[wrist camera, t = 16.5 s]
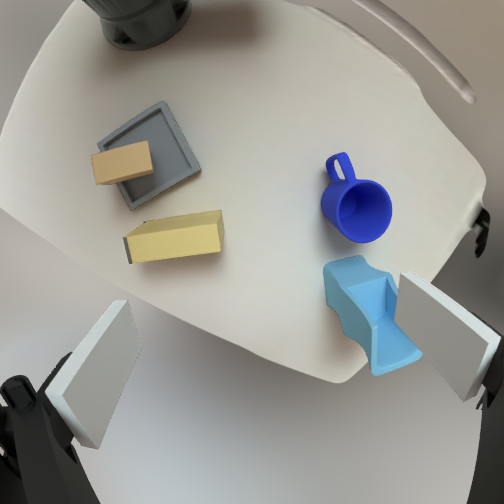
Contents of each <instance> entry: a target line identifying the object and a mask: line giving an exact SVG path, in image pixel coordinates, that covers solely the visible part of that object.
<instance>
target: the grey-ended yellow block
mask: <svg viewBox="0 0 504 504" xmlns="http://www.w3.org/2000/svg"><path fill="white" fill-rule="evenodd" d="M223 237H224V226H223V219H222V212H221V210H217V211H210V212H203V213H196V214H189V215H183V216H176V217H170V218H164V219H158V220H152V221H146V222H144V224H142V225H141V226H139V227H138V228H136V229H135V230H133V231H132V232H131V233H129V234H128V235H126V236H125V237H123V240H124V244H125V248H126V253H127V257H128V261H129V264H132V263H138V262H145V261H153V260H160V259H168V258H176V257H183V256H191V255H199V254H206V253H214V252H221V248H222V243H223Z"/></svg>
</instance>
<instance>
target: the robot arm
mask: <svg viewBox="0 0 504 504" xmlns="http://www.w3.org/2000/svg"><path fill="white" fill-rule="evenodd" d="M82 1H83V2H85V3H86V4H87V5H88V6H89V7H90V8H91V9H92V10H93V11H94V12H96V13H97V14H98V15H99V16H100V21H101V25H102V30H103V33H104V35H105V36H106V38H107V39H108V40H109V41H110V42H111V43H112V44H114V45H115V46H116V47H118V48H121V49H124V50H131V51H135V50H144V49H148V48H151V47H154V46H157V45H159V44H161V43H163V42H165V41H166V40H168V39H169V38H171V37H172V36H173V35H175V34H176V33H177V32H178V31H179V30H180V29H181V28H182V27H183V26H184V24H185V23H186V21H187V19H188V17H189V15H190V11H191V1H190V0H82ZM394 322H395V323H396V324H397V325H398V326H399V327H400V329H401V330H402V331H403V332H404V333H405V334H406V335H407V336H408V337H409V339H410V340H411V341H412V342H413V343H414V344H415V345H416V347H417V348H418V349H419V350H420V351H421V352H422V353H423V355H424V356H425V357H426V358H427V359H428V360H429V361H430V363H431V364H432V365H433V366H434V367H435V369H436V370H437V371H438V372H439V373H440V374H441V376H442V377H443V378H444V379H445V380H446V382H447V383H448V384H449V385H450V386H451V388H452V389H453V390H454V391H455V392H456V394H457V395H458V396H459V398H460V399H461V400H462V401H463V402H464V401H466V400H468V399H470V398H472V397H474V396H476V394H477V392H478V391H479V388H480V386H481V384H483V385H484V386H485V387H486V389H485V391H484V393H483V395H482V397H481V399H480V401H479V403H478V404H477V407H476V409H478V408H479V406H480V405H481V404H482V403H483V405H482V409H481V410H482V421H481V432H480V440H479V448H478V455H477V460H476V466H475V471H474V476H473V481H472V485H471V490H470V493H469V497H468V501H467V504H504V336H503V335H501V334H500V333H499V332H498V331H496V330H495V329H494V328H492V327H491V326H490V325H487V323H486V322H485V321H484V320H481V318H480V317H478V316H477V315H476V314H475V313H473V312H470V311H468V310H466V309H465V308H463V307H462V306H461V305H459V304H458V303H457V302H455V301H454V300H452V299H451V298H450V297H448V296H447V295H446V294H444V293H443V292H441V291H440V290H439V289H437V288H436V287H434V286H433V285H432V284H430V283H429V282H427V281H426V280H424V279H423V278H422V277H420V276H419V275H417V274H416V273H414V272H413V271H410V272H404V273H400V280H399V289H398V296H397V304H396V310H395V317H394ZM141 349H142V346H141V342H140V340H139V336H138V333H137V330H136V326H135V323H134V319H133V316H132V312H131V309H130V305H129V302H128V300H114V301H113V302H112V304H111V305H110V306H109V307H108V308H107V310H106V311H105V312H104V313H103V314H102V316H101V317H100V318H99V319H98V321H97V322H96V323H95V325H94V326H93V327H92V328H91V329H90V331H89V332H88V333H87V335H86V336H85V337H84V338H83V340H82V341H81V342H80V344H79V345H78V346H77V348H76V349H75V350H74V352H70V353H68V354H67V355H66V356H64V357H63V358H62V359H61V360H60V362H59V363H58V364H57V365H56V368H54V370H53V371H52V372H51V374H50V375H49V376H48V377H47V379H46V380H45V382H44V383H43V384H42V386H41V387H40V389H39V390H38V392H37V393H36V391H35V390H34V388H33V386H32V384H31V383H30V381H29V379H28V378H27V377H26V376H24V375H17V376H13V377H11V378H9V379H7V380H6V381H5V382H4V383H3V384H2V386H1V387H0V394H1V395H2V397H3V399H4V400H5V402H6V403H7V405H8V406H6V407H5V406H2V405H1V404H0V447H1V448H2V449H3V450H4V455H3V456H2V455H1V454H0V504H100V502H99V500H98V498H97V496H96V494H95V492H94V490H93V488H92V486H91V484H90V482H89V480H88V478H87V476H86V474H85V471H84V469H83V467H82V465H81V462H80V460H79V458H78V455H77V453H76V450H75V448H74V446H73V445H72V444H71V441H72V439H73V437H75V438H76V439H77V441H78V442H79V443H80V444H81V446H85V447H89V448H94V449H99V447H100V444H101V442H102V439H103V437H104V434H105V432H106V429H107V427H108V424H109V422H110V419H111V417H112V415H113V412H114V410H115V407H116V405H117V403H118V400H119V398H120V396H121V393H122V391H123V389H124V386H125V384H126V382H127V380H128V378H129V375H130V373H131V371H132V369H133V366H134V364H135V362H136V360H137V358H138V356H139V353H140V351H141Z"/></svg>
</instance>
